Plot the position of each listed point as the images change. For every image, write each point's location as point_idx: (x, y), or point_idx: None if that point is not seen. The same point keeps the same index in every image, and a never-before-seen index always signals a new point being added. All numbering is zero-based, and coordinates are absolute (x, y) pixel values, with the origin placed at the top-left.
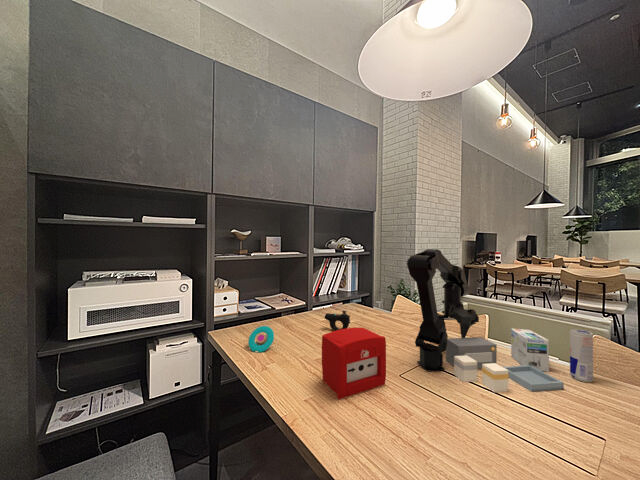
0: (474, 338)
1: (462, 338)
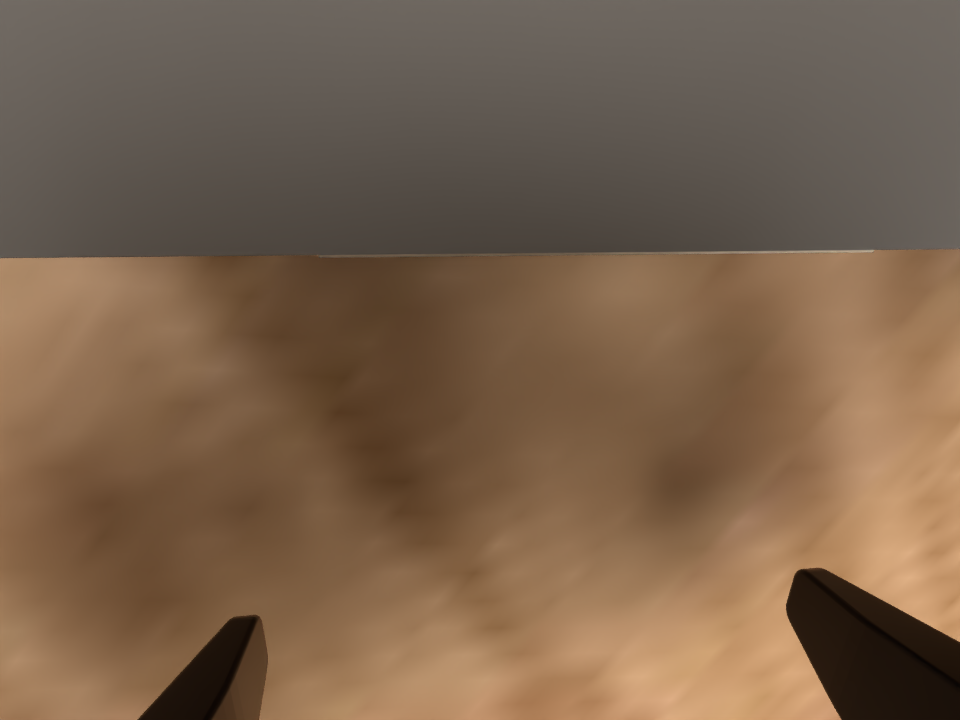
0: (144, 73)
1: (818, 166)
